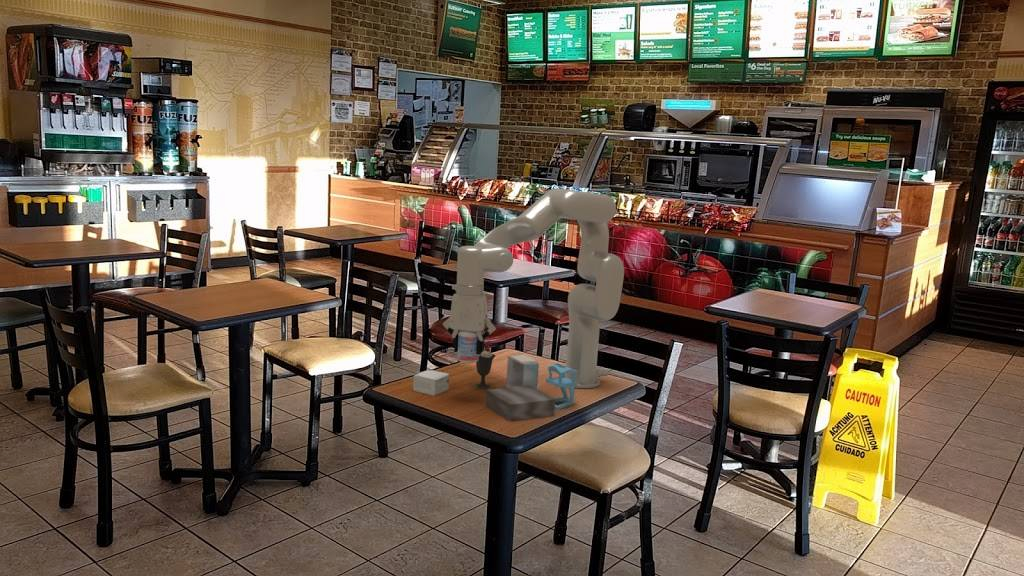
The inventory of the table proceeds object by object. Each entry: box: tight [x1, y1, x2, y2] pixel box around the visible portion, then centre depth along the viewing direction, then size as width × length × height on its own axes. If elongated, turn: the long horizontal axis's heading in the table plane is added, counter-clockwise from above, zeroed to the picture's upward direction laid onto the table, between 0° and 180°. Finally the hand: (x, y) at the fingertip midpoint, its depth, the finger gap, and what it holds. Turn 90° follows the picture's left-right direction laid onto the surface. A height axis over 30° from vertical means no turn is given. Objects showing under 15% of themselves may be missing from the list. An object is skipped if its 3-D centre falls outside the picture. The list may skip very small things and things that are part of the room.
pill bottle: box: [457, 330, 479, 364], centre depth 221 cm, size 6×6×11 cm
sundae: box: [474, 340, 496, 390], centre depth 237 cm, size 7×7×15 cm
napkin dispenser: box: [505, 354, 540, 390], centre depth 234 cm, size 5×10×10 cm, turn 29°
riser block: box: [485, 385, 556, 422], centre depth 218 cm, size 14×14×5 cm
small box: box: [412, 369, 450, 397], centre depth 231 cm, size 8×8×5 cm
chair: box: [545, 362, 577, 411], centre depth 225 cm, size 8×8×12 cm
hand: (468, 351), depth 222 cm, fingers closed on pill bottle, 6 cm apart
